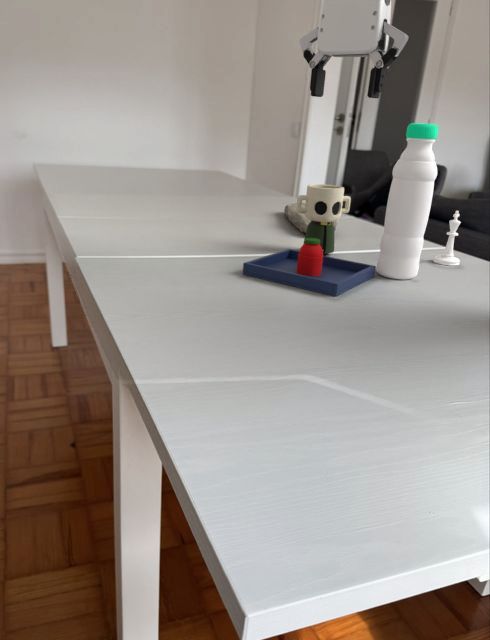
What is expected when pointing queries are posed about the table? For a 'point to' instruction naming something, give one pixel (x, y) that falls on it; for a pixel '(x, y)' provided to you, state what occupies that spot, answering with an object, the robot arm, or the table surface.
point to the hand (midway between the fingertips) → (344, 97)
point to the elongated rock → (299, 217)
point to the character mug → (323, 212)
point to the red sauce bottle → (310, 258)
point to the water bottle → (409, 204)
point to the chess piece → (450, 245)
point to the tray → (331, 281)
